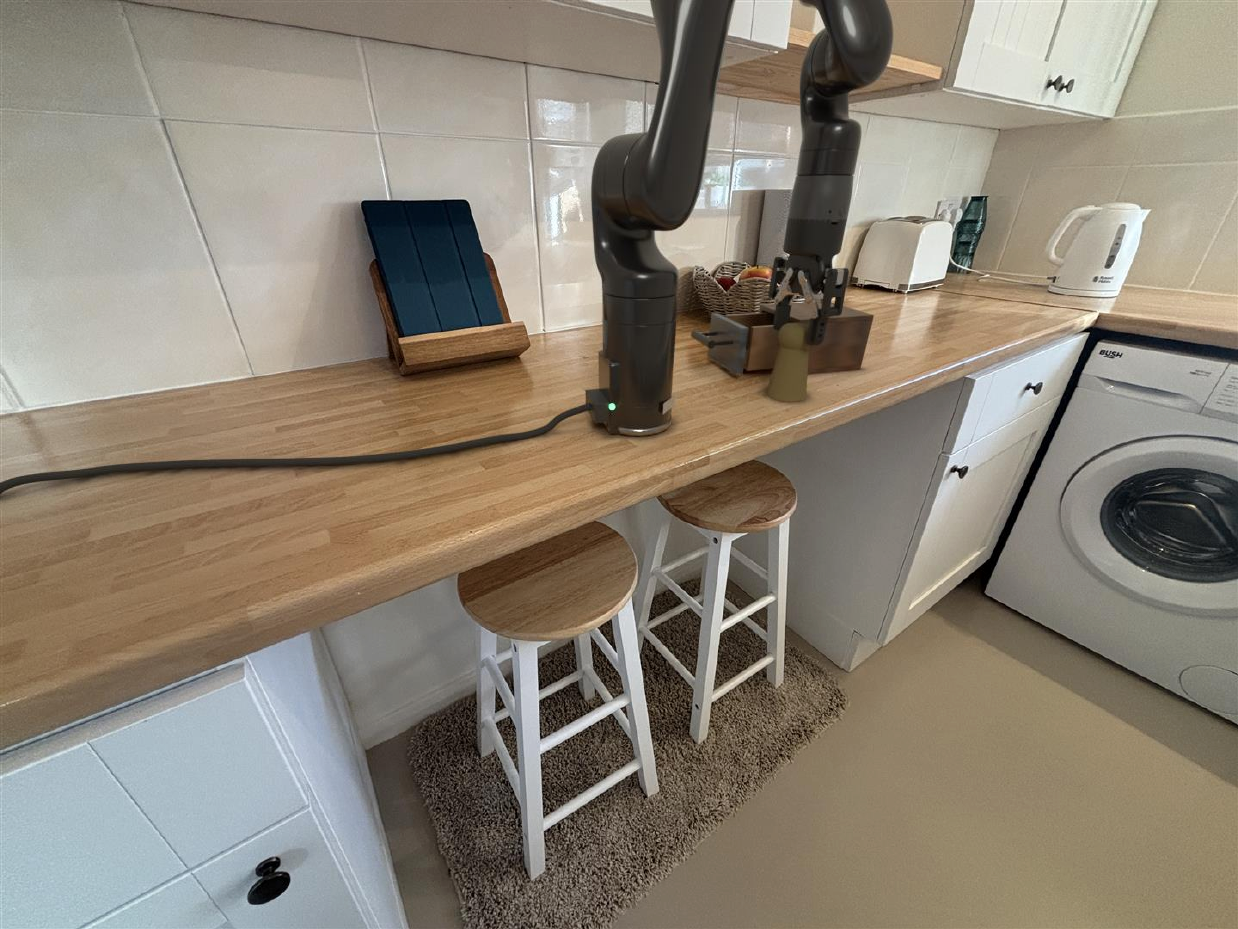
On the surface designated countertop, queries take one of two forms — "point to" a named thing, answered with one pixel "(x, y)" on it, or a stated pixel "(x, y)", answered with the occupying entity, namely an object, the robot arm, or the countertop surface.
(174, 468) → the robot arm
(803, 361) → the olive chess pawn
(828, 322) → the cabinet
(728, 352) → the drawer
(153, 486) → the countertop surface
